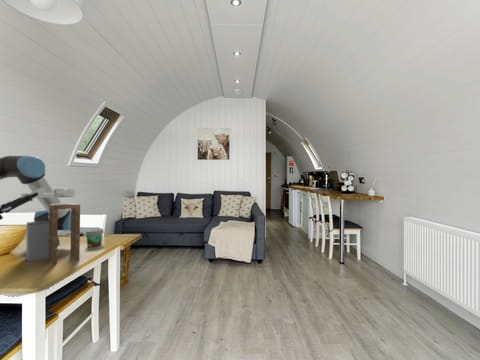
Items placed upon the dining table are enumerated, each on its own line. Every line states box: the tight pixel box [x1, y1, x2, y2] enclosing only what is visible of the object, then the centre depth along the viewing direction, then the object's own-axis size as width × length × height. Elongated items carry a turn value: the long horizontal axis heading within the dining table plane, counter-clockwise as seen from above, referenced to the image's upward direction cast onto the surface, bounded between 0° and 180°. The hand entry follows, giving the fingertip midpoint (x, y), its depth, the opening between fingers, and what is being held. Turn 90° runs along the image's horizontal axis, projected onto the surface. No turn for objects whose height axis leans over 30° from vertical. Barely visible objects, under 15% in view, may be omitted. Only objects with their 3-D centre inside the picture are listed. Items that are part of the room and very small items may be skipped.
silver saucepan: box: [20, 188, 75, 199], centre depth 131 cm, size 9×22×4 cm, turn 136°
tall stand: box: [48, 202, 81, 265], centre depth 136 cm, size 10×12×30 cm
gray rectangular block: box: [25, 221, 49, 263], centre depth 139 cm, size 8×10×20 cm
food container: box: [85, 228, 105, 248], centre depth 166 cm, size 12×6×10 cm, turn 168°
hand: (44, 190), depth 130 cm, fingers closed on silver saucepan, 2 cm apart
